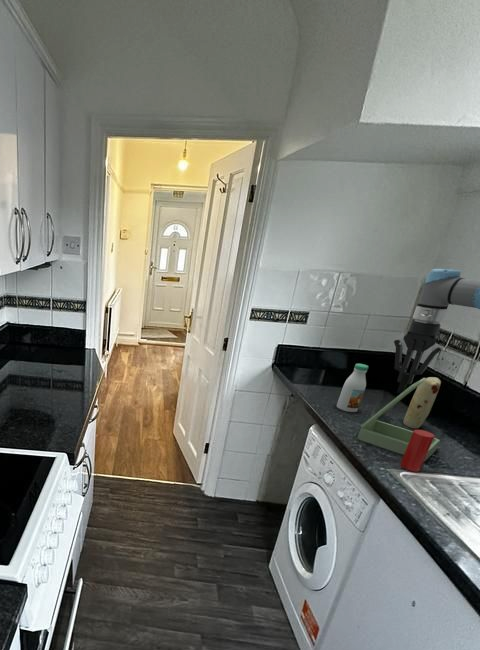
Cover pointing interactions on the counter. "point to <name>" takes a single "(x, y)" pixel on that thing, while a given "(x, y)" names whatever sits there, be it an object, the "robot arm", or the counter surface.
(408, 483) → the counter surface
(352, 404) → the milk bottle
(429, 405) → the food model
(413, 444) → the tin
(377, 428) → the green open box
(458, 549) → the counter surface
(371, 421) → the lid
